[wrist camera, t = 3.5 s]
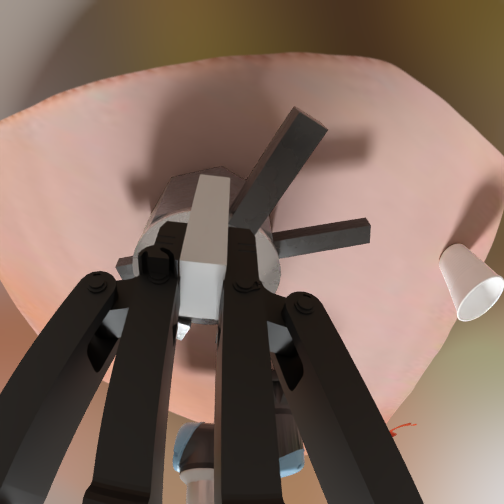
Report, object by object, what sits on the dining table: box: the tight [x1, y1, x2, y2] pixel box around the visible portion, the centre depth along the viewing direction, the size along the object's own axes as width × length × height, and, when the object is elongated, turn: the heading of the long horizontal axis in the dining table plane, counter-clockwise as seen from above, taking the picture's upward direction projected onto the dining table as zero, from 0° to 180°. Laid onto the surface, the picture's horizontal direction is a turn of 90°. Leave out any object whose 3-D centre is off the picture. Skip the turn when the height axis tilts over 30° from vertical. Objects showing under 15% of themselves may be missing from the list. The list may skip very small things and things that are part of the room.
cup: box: [439, 244, 504, 321], centre depth 41 cm, size 10×10×11 cm
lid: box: [132, 106, 328, 340], centre depth 29 cm, size 29×16×3 cm, turn 150°
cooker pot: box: [116, 166, 371, 280], centre depth 36 cm, size 29×15×9 cm, turn 100°
